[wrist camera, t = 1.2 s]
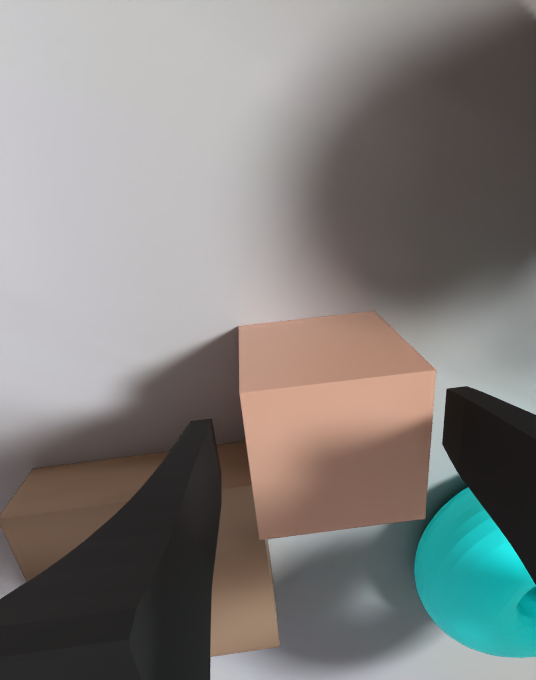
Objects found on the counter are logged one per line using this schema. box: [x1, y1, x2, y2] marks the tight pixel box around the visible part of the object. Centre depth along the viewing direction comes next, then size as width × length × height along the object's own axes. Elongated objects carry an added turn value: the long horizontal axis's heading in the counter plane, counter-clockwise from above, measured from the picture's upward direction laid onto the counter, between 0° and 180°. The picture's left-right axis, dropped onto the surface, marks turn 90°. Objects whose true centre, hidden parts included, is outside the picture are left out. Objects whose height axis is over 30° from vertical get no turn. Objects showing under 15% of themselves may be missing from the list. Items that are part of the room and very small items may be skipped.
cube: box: [239, 311, 436, 540], centre depth 13 cm, size 5×5×5 cm
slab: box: [0, 441, 280, 657], centre depth 17 cm, size 9×9×3 cm
